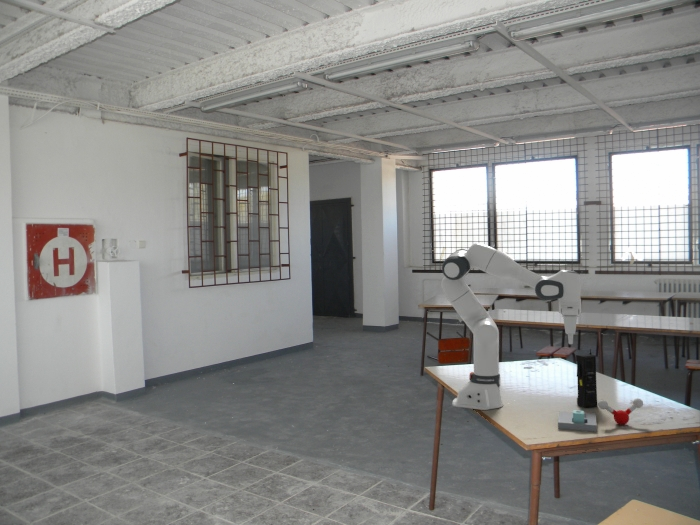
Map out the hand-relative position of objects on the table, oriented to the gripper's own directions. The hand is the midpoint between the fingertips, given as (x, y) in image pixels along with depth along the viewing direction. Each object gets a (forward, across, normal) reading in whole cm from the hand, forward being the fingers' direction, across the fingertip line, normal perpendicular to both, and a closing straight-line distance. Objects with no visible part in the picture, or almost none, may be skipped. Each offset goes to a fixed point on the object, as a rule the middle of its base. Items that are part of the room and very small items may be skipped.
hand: (570, 342), depth 245 cm
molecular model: (+31, +7, +18) cm, 37 cm away
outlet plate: (+31, +11, +2) cm, 33 cm away
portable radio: (+31, -17, +6) cm, 36 cm away
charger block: (+31, +14, +2) cm, 34 cm away
